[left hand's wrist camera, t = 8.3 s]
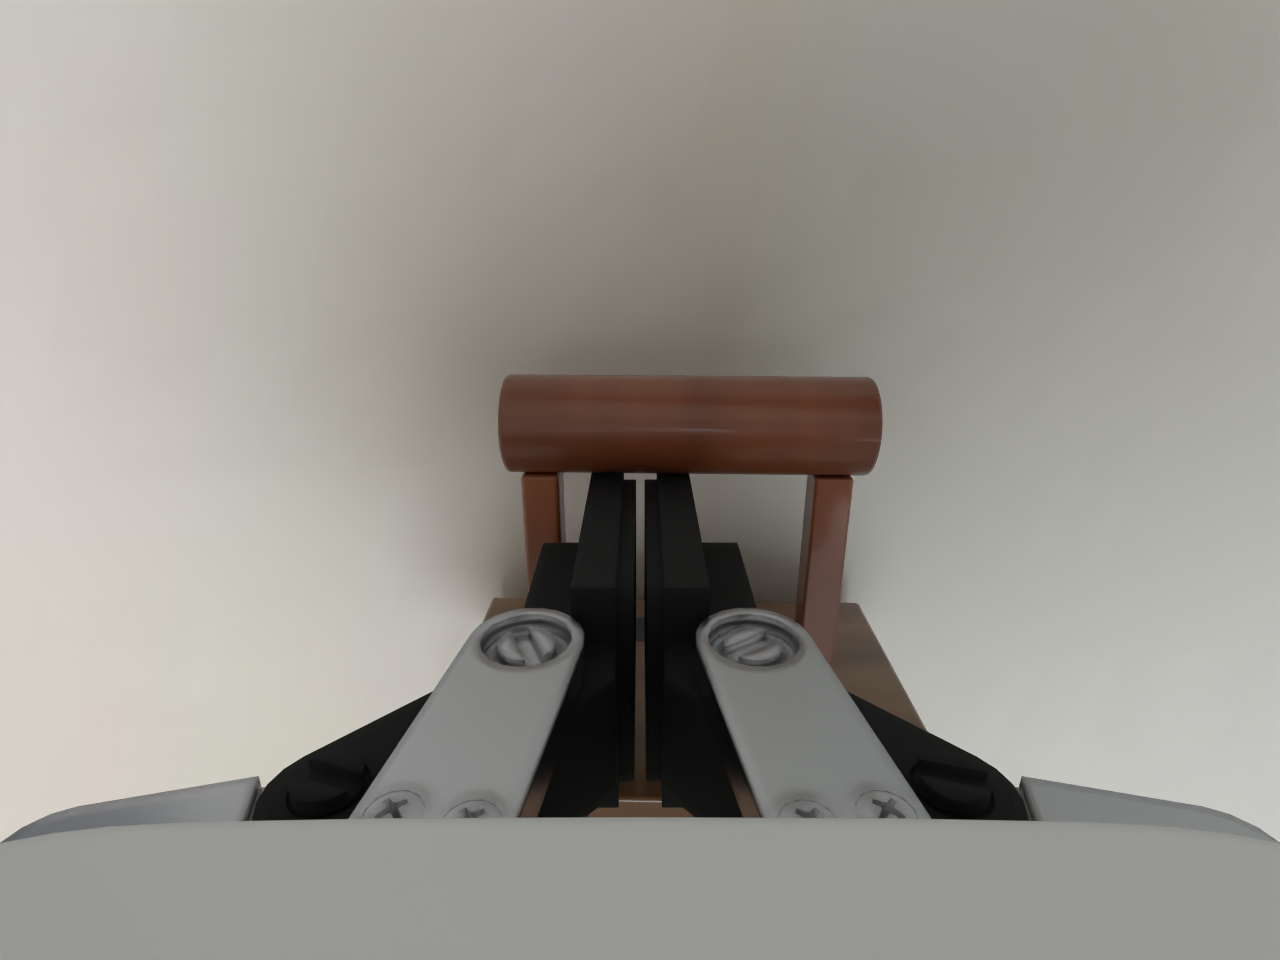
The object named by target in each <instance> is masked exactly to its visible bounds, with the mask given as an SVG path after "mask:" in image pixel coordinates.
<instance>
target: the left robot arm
mask: <svg viewBox="0 0 1280 960" xmlns="http://www.w3.org/2000/svg"><path fill="white" fill-rule="evenodd" d="M644 642H645V737H646V781H661V799H662V808H684V809H685V810H686V811H688V812H689V813H690V816H689V817H591V816H590V813H592V812H593V811H594V810H596V809H597V808H619V784H620V782H634V779H635V690H636V480H624V473H592V475H591V480H590V485H589V491H588V496H587V501H586V507H585V512H584V517H583V523H582V528H581V533H580V539H579V543H543V546H542V549H541V552H540V555H539V559H538V562H537V565H536V569H535V572H534V576H533V579H532V582H531V586H530V589H529V593H528V596H527V599H526V603H525V606H524V608H523V609H518V610H512V611H507V612H505V613H502V614H499V615H496V616H493V617H492V618H490V619H488V620H487V621H485V622H483V623H482V624H480V625H479V626H478V627H477V628H476V629H475V630H474V631H473V633H472V634H471V635H470V636H469V638H468V640H467V641H466V643H465V644H464V646H463V647H462V649H461V650H460V652H459V653H458V655H457V656H456V658H455V659H454V661H453V662H452V664H451V665H450V667H449V668H448V670H447V671H446V673H445V674H444V676H443V677H442V679H441V680H440V682H439V683H438V685H437V686H436V688H435V689H434V691H433V692H431V693H429V694H427V695H425V696H423V697H421V698H419V699H417V700H415V701H413V702H411V703H409V704H407V705H405V706H403V707H401V708H399V709H397V710H395V711H393V712H391V713H389V714H387V715H385V716H383V717H381V718H379V719H377V720H375V721H373V722H371V723H369V724H367V725H366V726H364V727H362V728H360V729H358V730H356V731H354V732H352V733H350V734H348V735H346V736H344V737H342V738H340V739H338V740H336V741H334V742H332V743H330V744H328V745H326V746H324V747H322V748H320V749H318V750H316V751H314V752H312V753H310V754H308V755H306V756H304V757H303V758H301V759H299V760H298V761H296V762H295V763H293V764H291V765H290V766H288V767H287V768H285V769H284V770H282V771H281V772H280V773H279V774H278V775H277V776H276V777H275V778H274V779H273V780H272V781H271V782H270V783H269V784H267V786H266V787H263V788H261V784H260V780H259V776H257V777H251V778H245V779H239V780H233V781H227V782H221V783H215V784H209V785H203V786H197V787H191V788H185V789H179V790H173V791H167V792H161V793H155V794H149V795H143V796H137V797H131V798H125V799H120V800H114V801H108V802H102V803H96V804H90V805H84V806H78V807H74V808H71V809H67V810H64V811H60V812H56V813H53V814H50V815H48V816H46V817H43V818H41V819H39V820H37V821H35V822H33V823H31V824H29V825H27V826H25V827H23V828H21V829H19V830H18V831H17V832H15V833H14V834H12V835H11V836H9V837H8V838H6V839H5V840H4V841H2V842H1V843H0V960H1280V842H1278V841H1277V840H1275V839H1274V838H1272V837H1271V836H1270V835H1268V834H1267V833H1265V832H1264V831H1262V830H1261V829H1260V828H1258V827H1256V826H1254V825H1251V824H1249V823H1247V822H1245V821H1243V820H1241V819H1239V818H1237V817H1235V816H1233V815H1230V814H1227V813H1224V812H1220V811H1217V810H1213V809H1209V808H1206V807H1202V806H1196V805H1190V804H1184V803H1178V802H1172V801H1166V800H1161V799H1155V798H1149V797H1143V796H1137V795H1131V794H1125V793H1119V792H1113V791H1107V790H1101V789H1095V788H1089V787H1083V786H1077V785H1071V784H1065V783H1059V782H1053V781H1047V780H1041V779H1035V778H1029V777H1024V776H1022V777H1021V781H1020V785H1019V788H1017V787H1014V785H1013V784H1012V783H1011V782H1010V781H1009V780H1008V779H1007V778H1005V777H1004V776H1003V775H1002V774H1001V773H1000V772H999V771H998V770H997V769H995V768H994V767H992V766H991V765H989V764H987V763H986V762H984V761H983V760H981V759H979V758H978V757H976V756H974V755H972V754H970V753H968V752H966V751H964V750H962V749H960V748H958V747H956V746H954V745H952V744H951V743H949V742H947V741H945V740H943V739H941V738H939V737H937V736H935V735H933V734H931V733H929V732H927V731H925V730H923V729H921V728H919V727H917V726H915V725H913V724H911V723H909V722H907V721H905V720H903V719H901V718H899V717H897V716H895V715H893V714H891V713H889V712H887V711H885V710H883V709H881V708H879V707H877V706H876V705H874V704H872V703H870V702H868V701H866V700H864V699H862V698H860V697H858V696H856V695H854V694H852V693H850V692H848V691H846V689H845V688H844V686H843V685H842V683H841V682H840V680H839V679H838V677H837V676H836V674H835V673H834V671H833V670H832V668H831V667H830V665H829V664H828V662H827V661H826V659H825V658H824V656H823V655H822V653H821V652H820V650H819V649H818V647H817V646H816V644H815V643H814V641H813V639H812V638H811V636H810V635H809V634H808V633H807V631H806V630H805V629H804V628H803V627H802V626H801V625H800V624H798V623H797V622H795V621H793V620H792V619H790V618H788V617H787V616H784V615H781V614H778V613H775V612H773V611H768V610H762V609H757V608H756V604H755V601H754V598H753V594H752V591H751V587H750V584H749V581H748V577H747V574H746V570H745V567H744V564H743V560H742V557H741V553H740V550H739V547H738V544H737V543H702V541H701V536H700V530H699V525H698V520H697V514H696V509H695V504H694V498H693V493H692V488H691V482H690V477H689V474H678V473H657V480H645V572H644Z"/></svg>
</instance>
